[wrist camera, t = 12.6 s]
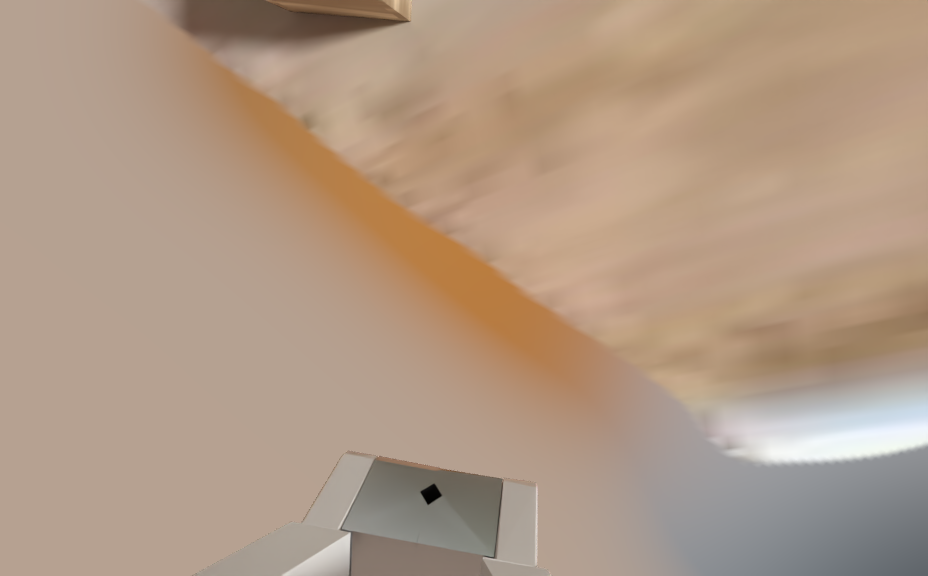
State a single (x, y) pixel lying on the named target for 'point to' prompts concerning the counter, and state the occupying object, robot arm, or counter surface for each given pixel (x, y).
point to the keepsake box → (351, 8)
